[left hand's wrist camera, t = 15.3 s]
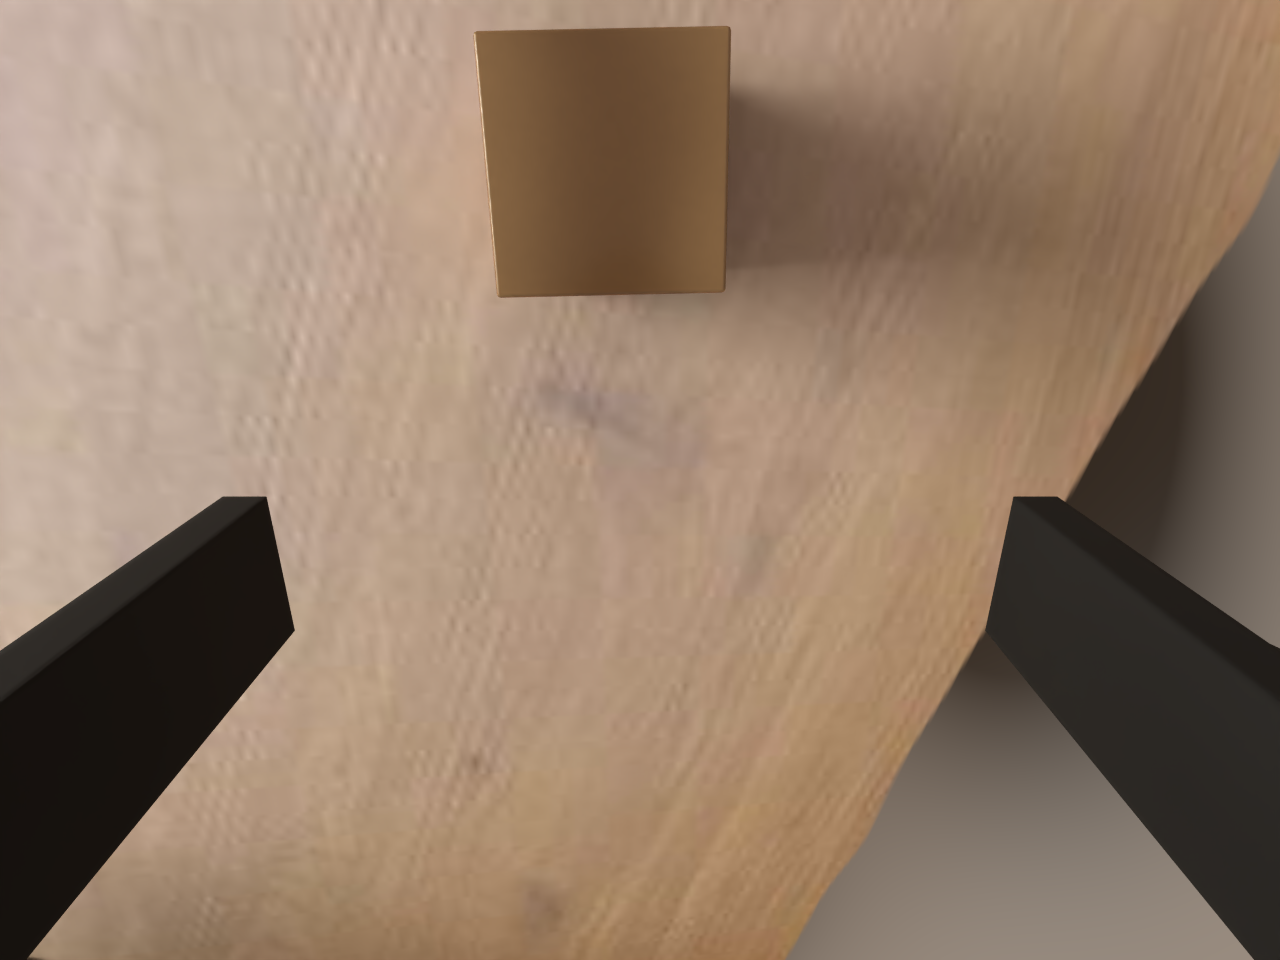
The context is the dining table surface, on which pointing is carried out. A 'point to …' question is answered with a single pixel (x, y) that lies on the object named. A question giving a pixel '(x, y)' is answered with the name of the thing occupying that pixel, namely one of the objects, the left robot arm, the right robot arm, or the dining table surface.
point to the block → (606, 159)
